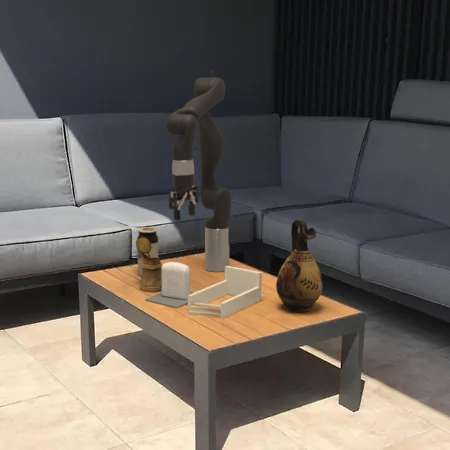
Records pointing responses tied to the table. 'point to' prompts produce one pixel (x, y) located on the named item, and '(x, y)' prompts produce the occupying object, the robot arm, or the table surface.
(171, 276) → the photo printer
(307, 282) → the ceramic jug
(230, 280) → the rack
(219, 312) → the offcut stack
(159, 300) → the mat
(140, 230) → the travel mug
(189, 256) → the table surface
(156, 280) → the wooden mug
